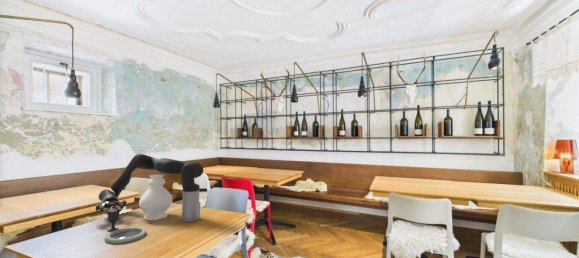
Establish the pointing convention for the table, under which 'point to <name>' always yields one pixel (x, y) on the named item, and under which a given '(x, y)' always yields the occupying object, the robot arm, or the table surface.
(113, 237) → the tray
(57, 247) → the table surface
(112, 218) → the sundae
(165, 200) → the decorative vase
